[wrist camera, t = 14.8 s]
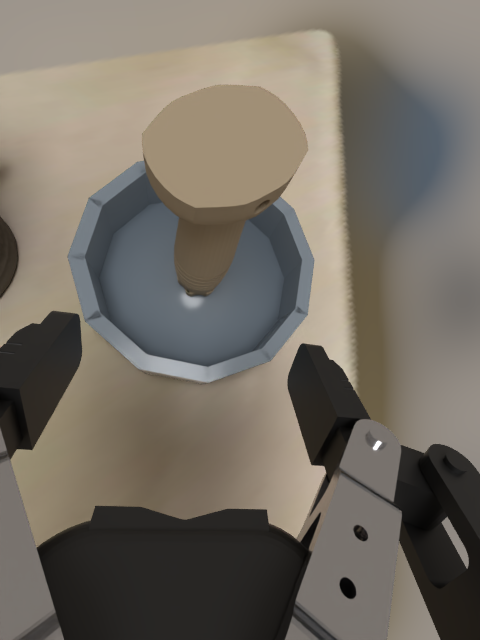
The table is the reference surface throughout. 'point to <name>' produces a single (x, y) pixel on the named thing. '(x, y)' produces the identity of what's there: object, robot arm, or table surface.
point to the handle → (219, 171)
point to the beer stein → (6, 255)
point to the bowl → (170, 297)
